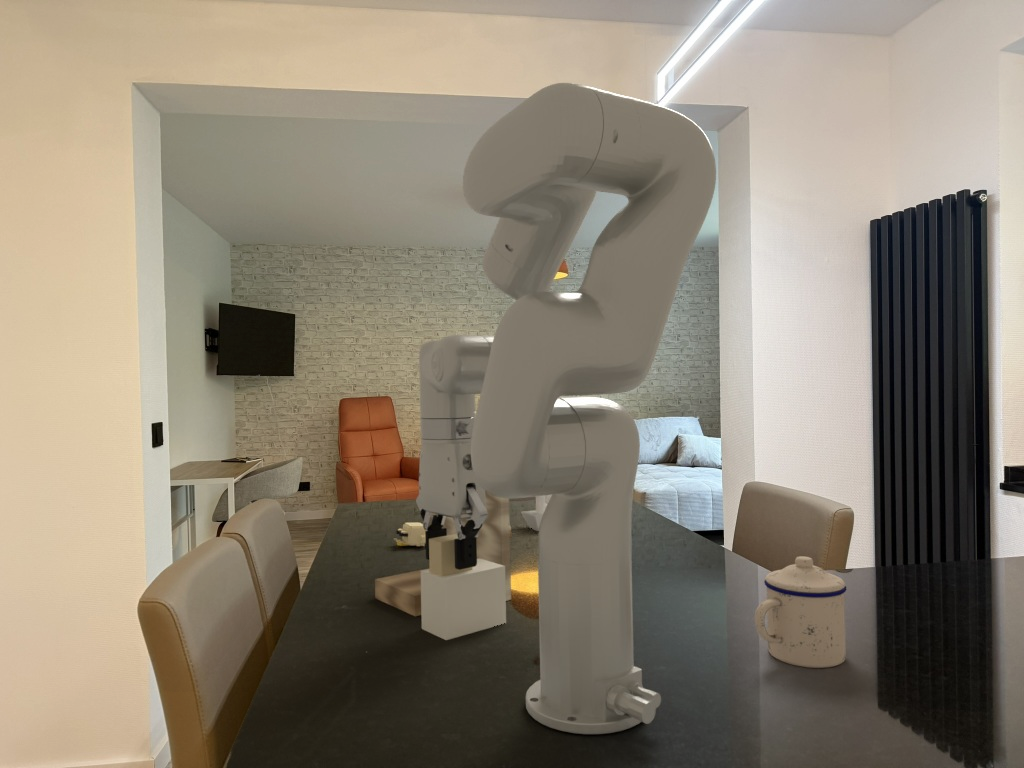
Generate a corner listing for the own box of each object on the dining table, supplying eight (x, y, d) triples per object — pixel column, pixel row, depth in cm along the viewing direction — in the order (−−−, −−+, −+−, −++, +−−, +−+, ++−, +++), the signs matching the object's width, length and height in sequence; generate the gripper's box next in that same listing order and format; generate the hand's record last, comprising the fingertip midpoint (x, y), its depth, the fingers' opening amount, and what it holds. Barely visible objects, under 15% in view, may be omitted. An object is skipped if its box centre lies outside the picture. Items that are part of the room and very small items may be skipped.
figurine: (538, 533, 159) (536, 466, 159) (519, 526, 168) (517, 462, 168) (566, 530, 162) (564, 464, 163) (546, 523, 171) (544, 460, 171)
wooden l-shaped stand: (511, 599, 111) (508, 456, 111) (426, 621, 101) (423, 465, 101) (446, 576, 125) (443, 450, 125) (366, 594, 115) (363, 457, 115)
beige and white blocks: (506, 623, 100) (504, 533, 100) (446, 640, 94) (444, 544, 94) (480, 613, 105) (478, 527, 105) (421, 629, 98) (419, 537, 98)
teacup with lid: (805, 637, 92) (803, 546, 92) (865, 661, 84) (863, 561, 84) (730, 653, 87) (728, 556, 87) (787, 680, 79) (785, 574, 79)
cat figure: (497, 538, 163) (388, 540, 153) (499, 499, 163) (391, 499, 153) (515, 546, 153) (400, 549, 144) (517, 505, 154) (403, 506, 144)
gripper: (509, 432, 93) (512, 569, 93) (436, 427, 107) (439, 548, 107) (462, 435, 89) (464, 580, 89) (392, 430, 102) (394, 556, 102)
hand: (450, 561), depth 98 cm, fingers open, 6 cm apart
